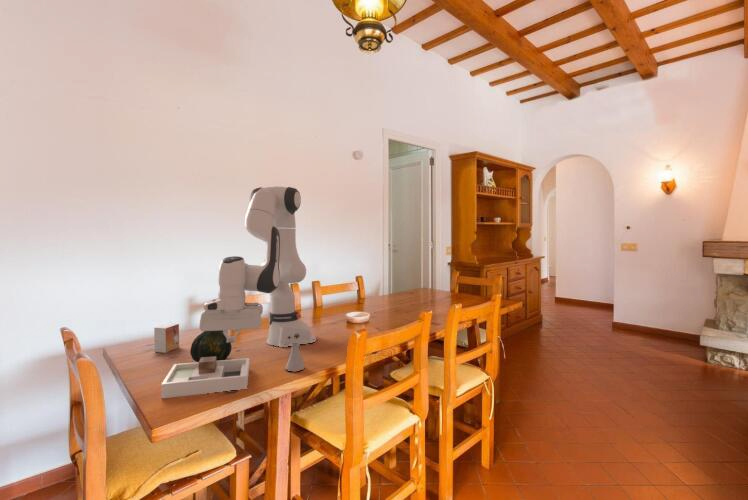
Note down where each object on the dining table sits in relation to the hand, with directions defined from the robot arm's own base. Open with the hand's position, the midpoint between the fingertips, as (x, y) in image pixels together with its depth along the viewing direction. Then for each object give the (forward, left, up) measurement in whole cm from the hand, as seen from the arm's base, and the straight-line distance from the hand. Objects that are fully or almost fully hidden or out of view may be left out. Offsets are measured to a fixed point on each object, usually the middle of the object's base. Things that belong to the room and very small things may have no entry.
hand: (231, 342), depth 128 cm
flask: (-22, -2, -13) cm, 26 cm away
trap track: (+7, +3, -13) cm, 15 cm away
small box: (+29, -37, -13) cm, 48 cm away
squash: (+9, -17, -13) cm, 23 cm away
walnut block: (+8, 0, -10) cm, 12 cm away
